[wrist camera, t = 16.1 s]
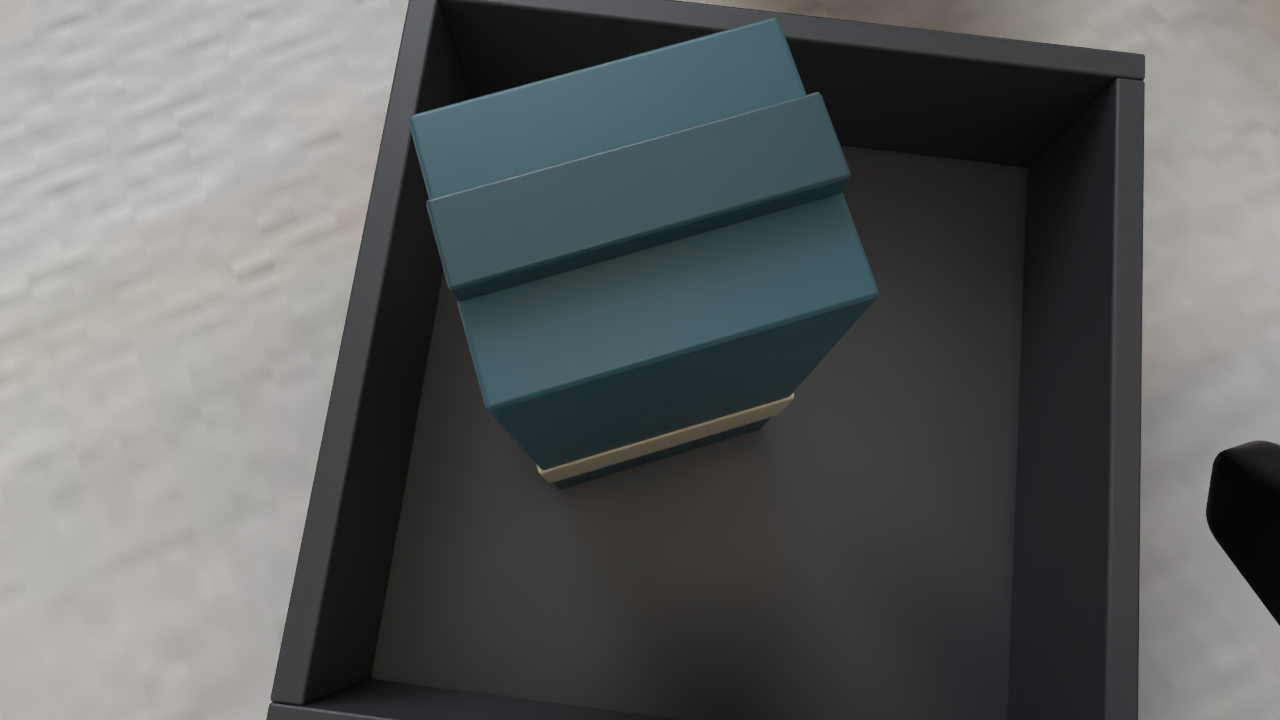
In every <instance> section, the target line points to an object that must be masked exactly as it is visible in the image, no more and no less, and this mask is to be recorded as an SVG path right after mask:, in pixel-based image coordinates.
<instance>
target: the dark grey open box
mask: <svg viewBox="0 0 1280 720" xmlns="http://www.w3.org/2000/svg"><path fill="white" fill-rule="evenodd" d="M770 18H777V19H778V20H779V22H780V25H781V27H782V30H783V33H784V35H785V38H786V41H787V43H788V46H789V49H790V52H791V54H792V57H793V60H794V62H795V65H796V68H797V71H798V73H799V76H800V79H801V81H802V84H803V87H804V90H805V92H806V95H807V94H811V93H815V92H819V93H820V94H821V95H822V98H823V100H824V103H825V106H826V109H827V111H828V114H829V117H830V119H831V122H832V125H833V127H834V130H835V133H836V135H837V138H838V141H839V143H840V146H841V149H842V151H843V154H844V157H845V159H846V162H847V165H848V168H849V170H850V173H851V177H850V179H849V181H848V183H847V185H846V187H845V188H844V190H843V195H844V198H845V201H846V203H847V206H848V209H849V211H850V214H851V217H852V220H853V222H854V225H855V228H856V230H857V233H858V236H859V238H860V241H861V244H862V247H863V249H864V252H865V255H866V257H867V260H868V263H869V266H870V268H871V271H872V274H873V276H874V279H875V282H876V285H877V287H878V290H879V297H878V298H877V299H876V300H875V301H874V302H873V303H872V305H871V306H870V307H869V308H868V309H867V310H866V311H865V312H864V314H863V315H862V316H861V317H860V318H859V319H858V320H857V321H856V323H855V324H854V325H853V326H852V327H851V328H850V329H849V330H848V332H847V333H846V334H845V335H844V336H843V337H842V338H841V340H840V341H839V342H838V343H837V344H836V345H835V346H834V347H833V349H832V350H831V351H830V352H829V353H828V354H827V355H826V356H825V358H824V359H823V360H822V361H821V362H820V363H819V364H818V365H817V367H816V368H815V369H814V370H813V371H812V372H811V373H810V374H809V376H808V377H807V378H806V379H805V380H804V381H803V382H802V384H801V385H800V386H799V387H798V388H797V389H796V390H795V391H794V399H793V400H792V401H791V402H790V403H789V404H788V405H787V406H786V407H785V408H784V409H783V411H782V412H781V413H780V414H779V415H777V416H773V417H771V419H770V420H769V421H768V422H767V423H766V424H765V425H764V426H763V427H762V428H761V429H759V430H756V431H752V432H749V433H746V434H742V435H739V436H736V437H732V438H729V439H726V440H722V441H719V442H716V443H712V444H709V445H706V446H702V447H699V448H696V449H692V450H689V451H686V452H682V453H679V454H676V455H672V456H669V457H666V458H662V459H659V460H656V461H652V462H649V463H646V464H642V465H639V466H636V467H632V468H629V469H626V470H622V471H619V472H616V473H612V474H609V475H606V476H602V477H599V478H596V479H592V480H589V481H586V482H582V483H579V484H576V485H572V486H569V487H566V488H562V489H558V488H557V486H556V485H555V484H554V483H548V482H547V481H546V480H545V479H544V478H543V477H542V476H541V475H540V473H539V472H538V469H537V466H536V463H535V462H534V461H533V460H532V459H531V458H530V456H529V455H528V454H527V453H526V452H525V451H524V450H523V449H522V447H521V446H520V445H519V444H518V443H517V442H516V441H515V440H514V439H513V437H512V436H511V435H510V434H509V433H508V432H507V431H506V430H505V429H504V427H503V426H502V425H501V424H500V423H499V422H498V421H497V420H496V419H495V417H494V416H493V415H492V414H491V413H490V412H489V411H488V410H487V408H486V407H485V404H484V400H483V397H482V393H481V389H480V386H479V382H478V378H477V375H476V371H475V367H474V363H473V360H472V356H471V352H470V349H469V345H468V341H467V337H466V334H465V330H464V326H463V323H462V319H461V315H460V311H459V308H458V304H457V300H456V298H455V297H454V295H453V294H452V292H451V291H450V289H449V288H448V284H447V281H446V277H445V273H444V269H443V266H442V262H441V258H440V254H439V251H438V247H437V243H436V240H435V236H434V232H433V228H432V225H431V221H430V217H429V213H428V210H427V206H426V204H427V200H429V196H428V193H427V189H426V185H425V182H424V178H423V174H422V170H421V167H420V163H419V159H418V156H417V152H416V148H415V144H414V141H413V137H412V133H411V130H410V126H409V117H410V116H412V115H414V114H418V113H421V112H425V111H429V110H432V109H436V108H440V107H444V106H447V105H451V104H455V103H458V102H462V101H466V100H470V99H473V98H477V97H481V96H484V95H488V94H492V93H496V92H499V91H503V90H507V89H510V88H514V87H518V86H522V85H525V84H529V83H533V82H536V81H540V80H544V79H547V78H551V77H555V76H559V75H562V74H566V73H570V72H573V71H577V70H581V69H585V68H588V67H592V66H596V65H599V64H603V63H607V62H611V61H614V60H618V59H622V58H625V57H629V56H633V55H637V54H640V53H644V52H648V51H651V50H655V49H659V48H663V47H666V46H670V45H674V44H677V43H681V42H685V41H688V40H692V39H696V38H700V37H703V36H707V35H711V34H714V33H718V32H722V31H726V30H729V29H733V28H737V27H740V26H744V25H748V24H752V23H755V22H759V21H763V20H766V19H770ZM1144 77H1145V56H1144V55H1143V54H1135V53H1126V52H1118V51H1109V50H1100V49H1092V48H1083V47H1074V46H1066V45H1057V44H1048V43H1040V42H1031V41H1022V40H1013V39H1005V38H996V37H987V36H979V35H970V34H961V33H953V32H944V31H935V30H927V29H918V28H909V27H901V26H892V25H883V24H874V23H866V22H857V21H848V20H840V19H831V18H822V17H814V16H805V15H796V14H788V13H779V12H770V11H761V10H753V9H744V8H735V7H727V6H718V5H709V4H701V3H692V2H683V1H675V0H409V4H408V9H407V14H406V19H405V24H404V29H403V34H402V39H401V44H400V49H399V54H398V59H397V64H396V69H395V74H394V79H393V84H392V89H391V94H390V99H389V104H388V109H387V115H386V120H385V125H384V130H383V135H382V140H381V145H380V150H379V155H378V160H377V165H376V170H375V175H374V180H373V185H372V190H371V195H370V200H369V205H368V210H367V215H366V220H365V225H364V230H363V235H362V240H361V245H360V251H359V256H358V261H357V266H356V271H355V276H354V281H353V286H352V291H351V296H350V301H349V306H348V311H347V316H346V321H345V326H344V331H343V336H342V341H341V346H340V351H339V356H338V361H337V366H336V371H335V376H334V381H333V386H332V392H331V397H330V402H329V407H328V412H327V417H326V422H325V427H324V432H323V437H322V442H321V447H320V452H319V457H318V462H317V467H316V472H315V477H314V482H313V487H312V492H311V497H310V502H309V507H308V512H307V517H306V522H305V528H304V533H303V538H302V543H301V548H300V553H299V558H298V563H297V568H296V573H295V578H294V583H293V588H292V593H291V598H290V603H289V608H288V613H287V618H286V623H285V628H284V633H283V638H282V643H281V648H280V653H279V658H278V663H277V669H276V674H275V679H274V684H273V689H272V694H271V701H273V702H272V703H270V705H269V709H268V714H267V719H266V720H1138V656H1139V561H1140V466H1141V370H1142V275H1143V180H1144V85H1145V83H1144V82H1143V80H1144Z"/></svg>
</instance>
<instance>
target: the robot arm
mask: <svg viewBox="0 0 1280 720" xmlns="http://www.w3.org/2000/svg"><path fill="white" fill-rule="evenodd" d="M1206 517H1207V522H1208V525H1209V528H1210V530H1211V532H1212V534H1213V536H1214V537H1215V539H1216V540H1217V542H1218V543H1219V544H1220V546H1221V547H1222V548H1223V550H1224V551H1225V552H1226V554H1227V555H1228V557H1229V558H1230V559H1231V561H1232V562H1233V563H1234V565H1235V566H1236V567H1237V569H1238V570H1239V571H1240V573H1241V574H1242V575H1243V577H1244V578H1245V579H1246V581H1247V582H1248V583H1249V585H1250V586H1251V588H1252V589H1253V590H1254V592H1255V593H1256V594H1257V596H1258V597H1259V598H1260V600H1261V601H1262V602H1263V604H1264V605H1265V606H1266V608H1267V609H1268V610H1269V612H1270V613H1271V615H1272V616H1273V617H1274V619H1275V620H1276V621H1277V623H1278V624H1279V625H1280V445H1277V444H1274V443H1271V442H1267V441H1252V442H1248V443H1245V444H1242V445H1239V446H1236V447H1233V448H1230V449H1227V450H1224V451H1222V452H1220V453H1219V454H1218V455H1217V457H1216V458H1215V460H1214V463H1213V468H1212V475H1211V481H1210V488H1209V495H1208V501H1207V508H1206Z"/></svg>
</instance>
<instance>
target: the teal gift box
mask: <svg viewBox="0 0 1280 720" xmlns="http://www.w3.org/2000/svg"><path fill="white" fill-rule="evenodd" d="M409 126H410V130H411V133H412V137H413V141H414V144H415V148H416V152H417V156H418V159H419V163H420V167H421V170H422V174H423V178H424V182H425V185H426V189H427V193H428V196H429V200H427V204H426V206H427V210H428V213H429V217H430V221H431V225H432V228H433V232H434V236H435V240H436V243H437V247H438V251H439V254H440V258H441V262H442V266H443V269H444V273H445V277H446V281H447V284H448V288H449V289H450V291H451V292H452V294H453V295H454V297H455V298H456V300H457V304H458V308H459V311H460V315H461V319H462V323H463V326H464V330H465V334H466V337H467V341H468V345H469V349H470V352H471V356H472V360H473V363H474V367H475V371H476V375H477V378H478V382H479V386H480V389H481V393H482V397H483V400H484V404H485V407H486V408H487V410H488V411H489V412H490V413H491V414H492V415H493V416H494V417H495V419H496V420H497V421H498V422H499V423H500V424H501V425H502V426H503V427H504V429H505V430H506V431H507V432H508V433H509V434H510V435H511V436H512V437H513V439H514V440H515V441H516V442H517V443H518V444H519V445H520V446H521V447H522V449H523V450H524V451H525V452H526V453H527V454H528V455H529V456H530V458H531V459H532V460H533V461H534V462H535V463H536V466H537V469H538V472H539V473H540V475H541V476H542V477H543V478H544V479H545V480H546V481H547V482H548V483H554V484H555V485H556V486H557V488H558V489H562V488H566V487H569V486H572V485H576V484H579V483H582V482H586V481H589V480H592V479H596V478H599V477H602V476H606V475H609V474H612V473H616V472H619V471H622V470H626V469H629V468H632V467H636V466H639V465H642V464H646V463H649V462H652V461H656V460H659V459H662V458H666V457H669V456H672V455H676V454H679V453H682V452H686V451H689V450H692V449H696V448H699V447H702V446H706V445H709V444H712V443H716V442H719V441H722V440H726V439H729V438H732V437H736V436H739V435H742V434H746V433H749V432H752V431H756V430H759V429H761V428H762V427H763V426H764V425H765V424H766V423H767V422H768V421H769V420H770V419H771V417H773V416H777V415H779V414H780V413H781V412H782V411H783V409H784V408H785V407H786V406H787V405H788V404H789V403H790V402H791V401H792V400H793V399H794V391H795V390H796V389H797V388H798V387H799V386H800V385H801V384H802V382H803V381H804V380H805V379H806V378H807V377H808V376H809V374H810V373H811V372H812V371H813V370H814V369H815V368H816V367H817V365H818V364H819V363H820V362H821V361H822V360H823V359H824V358H825V356H826V355H827V354H828V353H829V352H830V351H831V350H832V349H833V347H834V346H835V345H836V344H837V343H838V342H839V341H840V340H841V338H842V337H843V336H844V335H845V334H846V333H847V332H848V330H849V329H850V328H851V327H852V326H853V325H854V324H855V323H856V321H857V320H858V319H859V318H860V317H861V316H862V315H863V314H864V312H865V311H866V310H867V309H868V308H869V307H870V306H871V305H872V303H873V302H874V301H875V300H876V299H877V298H878V297H879V290H878V287H877V285H876V282H875V279H874V276H873V274H872V271H871V268H870V266H869V263H868V260H867V257H866V255H865V252H864V249H863V247H862V244H861V241H860V238H859V236H858V233H857V230H856V228H855V225H854V222H853V220H852V217H851V214H850V211H849V209H848V206H847V203H846V201H845V198H844V195H843V190H844V188H845V187H846V185H847V183H848V181H849V179H850V177H851V173H850V170H849V168H848V165H847V162H846V159H845V157H844V154H843V151H842V149H841V146H840V143H839V141H838V138H837V135H836V133H835V130H834V127H833V125H832V122H831V119H830V117H829V114H828V111H827V109H826V106H825V103H824V100H823V98H822V95H821V94H820V93H819V92H815V93H811V94H807V95H806V92H805V90H804V87H803V84H802V81H801V79H800V76H799V73H798V71H797V68H796V65H795V62H794V60H793V57H792V54H791V52H790V49H789V46H788V43H787V41H786V38H785V35H784V33H783V30H782V27H781V25H780V22H779V20H778V19H777V18H770V19H766V20H763V21H759V22H755V23H752V24H748V25H744V26H740V27H737V28H733V29H729V30H726V31H722V32H718V33H714V34H711V35H707V36H703V37H700V38H696V39H692V40H688V41H685V42H681V43H677V44H674V45H670V46H666V47H663V48H659V49H655V50H651V51H648V52H644V53H640V54H637V55H633V56H629V57H625V58H622V59H618V60H614V61H611V62H607V63H603V64H599V65H596V66H592V67H588V68H585V69H581V70H577V71H573V72H570V73H566V74H562V75H559V76H555V77H551V78H547V79H544V80H540V81H536V82H533V83H529V84H525V85H522V86H518V87H514V88H510V89H507V90H503V91H499V92H496V93H492V94H488V95H484V96H481V97H477V98H473V99H470V100H466V101H462V102H458V103H455V104H451V105H447V106H444V107H440V108H436V109H432V110H429V111H425V112H421V113H418V114H414V115H412V116H410V117H409Z"/></svg>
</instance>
